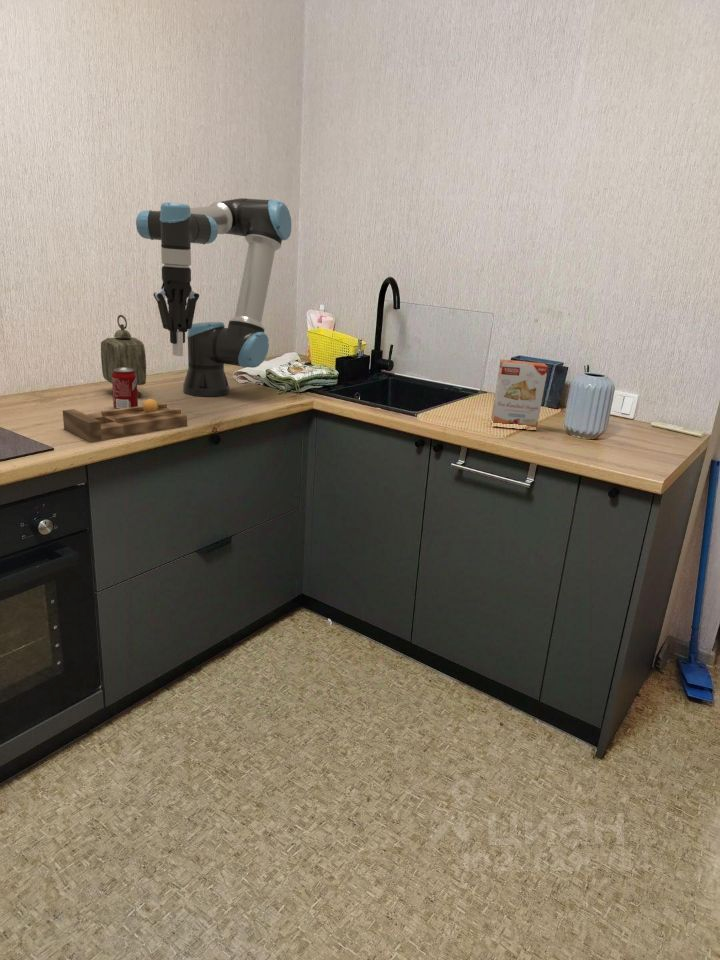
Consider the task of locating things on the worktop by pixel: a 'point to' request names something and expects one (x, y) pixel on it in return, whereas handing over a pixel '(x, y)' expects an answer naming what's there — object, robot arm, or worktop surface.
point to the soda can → (124, 388)
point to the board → (122, 422)
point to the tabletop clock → (123, 355)
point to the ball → (150, 405)
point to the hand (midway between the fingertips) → (177, 355)
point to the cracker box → (519, 392)
